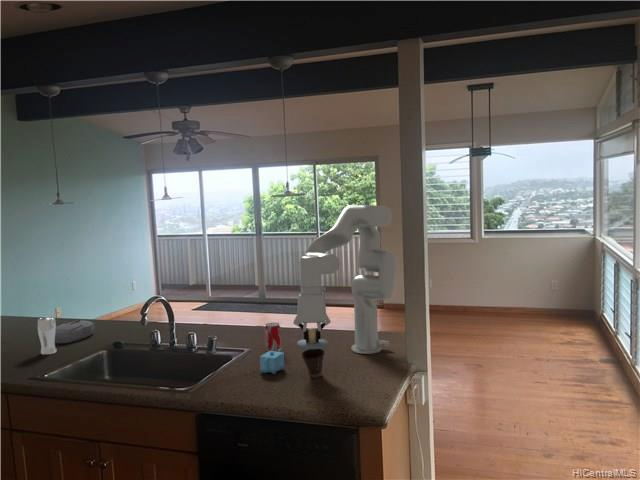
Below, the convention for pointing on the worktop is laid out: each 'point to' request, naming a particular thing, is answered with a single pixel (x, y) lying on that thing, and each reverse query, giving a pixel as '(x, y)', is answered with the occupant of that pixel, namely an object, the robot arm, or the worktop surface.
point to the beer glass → (47, 335)
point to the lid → (312, 341)
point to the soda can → (272, 337)
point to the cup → (314, 361)
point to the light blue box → (272, 361)
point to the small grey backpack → (73, 331)
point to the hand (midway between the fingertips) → (312, 341)
